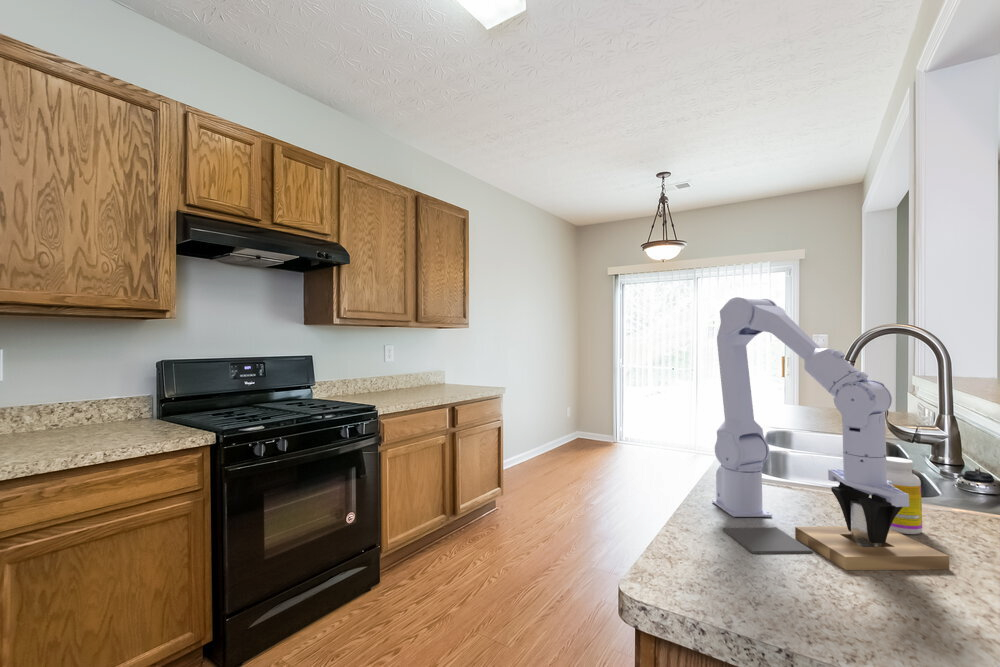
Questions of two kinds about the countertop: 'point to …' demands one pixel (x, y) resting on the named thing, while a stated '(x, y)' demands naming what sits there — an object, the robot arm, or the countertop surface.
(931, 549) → the holder
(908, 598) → the countertop surface
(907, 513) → the supplement bottle
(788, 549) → the mat
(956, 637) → the countertop surface
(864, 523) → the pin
